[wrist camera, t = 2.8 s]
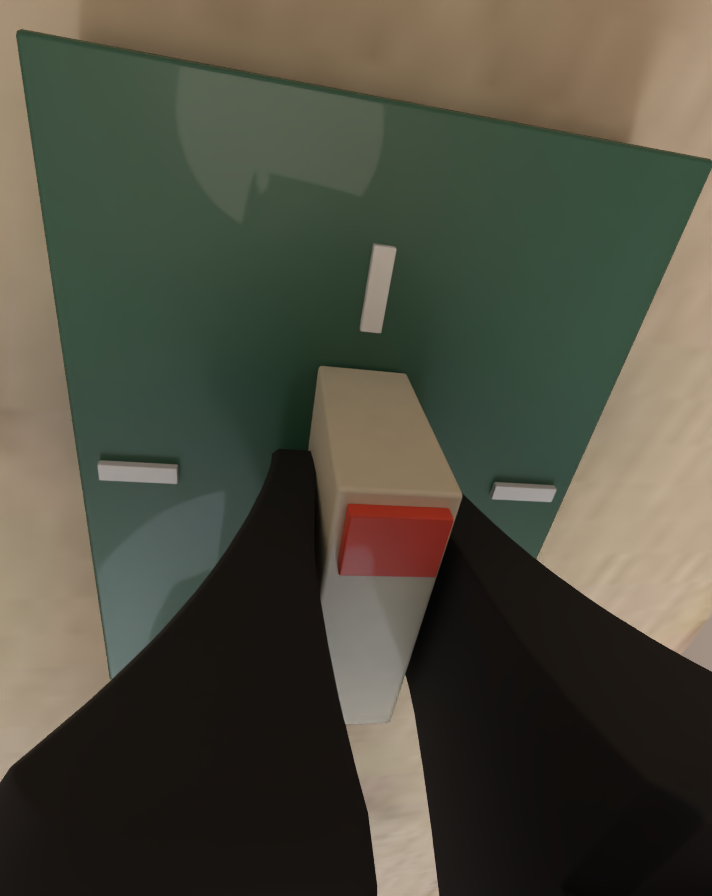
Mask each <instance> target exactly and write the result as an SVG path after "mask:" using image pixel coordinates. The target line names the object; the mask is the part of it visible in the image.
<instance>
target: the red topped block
mask: <svg viewBox="0 0 712 896" xmlns="http://www.w3.org/2000/svg"><path fill="white" fill-rule="evenodd" d="M308 451H311V454H312V457H313V461H314V466H315V470H316V494H315V526H314V551H315V564H316V571H317V578H318V585H319V592H320V599H321V605H322V611H323V617H324V623H325V629H326V634H327V640H328V646H329V651H330V656H331V661H332V666H333V671H334V676H335V681H336V685H337V690H338V695H339V700H340V704H341V709H342V713H343V717H344V721H345V725H351V724H382V723H389V722H390V719H391V716H392V713H393V710H394V707H395V704H396V701H397V698H398V695H399V692H400V688H401V685H402V682H403V679H404V676H405V673H406V670H407V667H408V664H409V661H410V658H411V654H412V651H413V648H414V645H415V642H416V639H417V636H418V633H419V630H420V627H421V623H422V620H423V617H424V614H425V611H426V608H427V605H428V602H429V599H430V596H431V592H432V589H433V586H434V583H435V580H436V577H437V574H438V571H439V568H440V565H441V562H442V558H443V555H444V552H445V549H446V546H447V543H448V540H449V537H450V534H451V531H452V527H453V524H454V521H455V518H456V515H457V512H458V509H459V506H460V503H461V500H462V492H461V490H460V488H459V486H458V484H457V482H456V479H455V477H454V475H453V473H452V471H451V469H450V467H449V464H448V462H447V460H446V458H445V456H444V454H443V452H442V450H441V447H440V445H439V443H438V441H437V439H436V437H435V435H434V433H433V430H432V428H431V426H430V424H429V422H428V420H427V418H426V415H425V413H424V411H423V409H422V407H421V405H420V403H419V401H418V398H417V396H416V394H415V392H414V390H413V388H412V386H411V383H410V381H409V379H408V377H407V375H406V374H404V373H394V372H383V371H372V370H361V369H350V368H340V367H329V366H320V367H319V369H318V375H317V383H316V391H315V399H314V407H313V415H312V423H311V431H310V439H309V447H308Z"/></svg>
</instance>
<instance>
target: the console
mask: <svg viewBox="0 0 712 896" xmlns="http://www.w3.org/2000/svg"><path fill="white" fill-rule="evenodd" d="M16 38H17V45H18V52H19V59H20V66H21V72H22V79H23V86H24V93H25V100H26V107H27V114H28V120H29V127H30V134H31V141H32V148H33V155H34V162H35V168H36V175H37V182H38V189H39V196H40V203H41V209H42V216H43V223H44V230H45V237H46V244H47V251H48V257H49V264H50V271H51V278H52V285H53V292H54V299H55V305H56V312H57V319H58V326H59V333H60V340H61V347H62V353H63V360H64V367H65V374H66V381H67V388H68V394H69V401H70V408H71V415H72V422H73V429H74V436H75V442H76V449H77V456H78V463H79V470H80V477H81V484H82V490H83V497H84V504H85V511H86V518H87V525H88V532H89V538H90V545H91V552H92V559H93V566H94V573H95V579H96V586H97V593H98V600H99V607H100V614H101V621H102V627H103V634H104V641H105V648H106V655H107V662H108V669H109V675H110V679H113V678H114V677H115V676H116V675H117V674H118V673H119V672H120V671H121V670H122V669H123V668H124V667H125V666H126V665H127V664H128V663H129V662H130V661H131V660H132V659H133V658H134V657H136V656H137V655H138V654H139V653H140V652H141V651H142V650H143V649H144V648H145V647H146V646H147V645H148V644H149V643H150V642H151V641H152V640H153V639H154V638H155V637H156V636H157V635H158V633H159V632H160V631H161V630H162V629H163V628H164V627H165V626H166V625H167V624H168V623H169V622H170V620H171V619H172V618H173V617H174V616H175V615H176V614H177V612H178V611H179V610H180V609H181V608H182V607H183V605H184V604H185V603H186V602H187V601H188V600H189V598H190V597H191V596H192V595H193V594H194V593H195V591H196V590H197V589H198V588H199V586H200V585H201V584H202V583H203V581H204V580H205V579H206V577H207V576H208V575H209V573H210V572H211V571H212V569H213V568H214V567H215V565H216V564H217V563H218V561H219V560H220V558H221V557H222V556H223V554H224V553H225V551H226V550H227V548H228V547H229V545H230V544H231V542H232V540H233V539H234V537H235V536H236V534H237V532H238V531H239V529H240V528H241V526H242V524H243V523H244V521H245V519H246V518H247V516H248V514H249V512H250V510H251V508H252V506H253V504H254V502H255V500H256V499H257V497H258V495H259V493H260V491H261V488H262V486H263V484H264V481H265V479H266V476H267V474H268V471H269V468H270V464H271V458H272V453H273V452H275V451H276V450H278V449H291V450H307V451H308V447H309V439H310V431H311V423H312V415H313V407H314V399H315V391H316V383H317V375H318V369H319V367H320V366H329V367H340V368H350V369H361V370H372V371H383V372H394V373H404V374H406V375H407V377H408V379H409V381H410V383H411V386H412V388H413V390H414V392H415V394H416V396H417V398H418V401H419V403H420V405H421V407H422V409H423V411H424V413H425V415H426V418H427V420H428V422H429V424H430V426H431V428H432V430H433V433H434V435H435V437H436V439H437V441H438V443H439V445H440V447H441V450H442V452H443V454H444V456H445V458H446V460H447V462H448V464H449V467H450V469H451V471H452V473H453V475H454V477H455V479H456V482H457V484H458V486H459V488H460V490H461V492H462V493H463V494H464V495H465V496H466V497H467V498H468V499H469V500H470V501H471V502H472V503H473V504H474V505H475V506H476V507H477V508H478V509H479V510H480V511H481V512H482V513H484V514H485V515H486V516H487V517H488V518H489V519H490V520H491V521H492V522H493V523H494V524H495V525H497V526H498V527H499V528H500V529H501V530H502V531H503V532H504V533H505V534H507V535H508V536H509V537H510V538H511V539H512V540H514V541H515V542H516V543H517V544H518V545H519V546H521V547H522V548H523V549H524V550H525V551H527V552H528V553H529V554H530V555H531V556H533V557H534V558H535V559H537V556H538V554H539V552H540V550H541V547H542V545H543V543H544V541H545V539H546V536H547V534H548V532H549V530H550V527H551V525H552V523H553V521H554V518H555V516H556V514H557V512H558V510H559V507H560V505H561V503H562V501H563V498H564V496H565V494H566V492H567V489H568V487H569V485H570V483H571V481H572V478H573V476H574V474H575V472H576V469H577V467H578V465H579V463H580V460H581V458H582V456H583V454H584V452H585V449H586V447H587V445H588V443H589V440H590V438H591V436H592V434H593V432H594V429H595V427H596V425H597V423H598V420H599V418H600V416H601V414H602V411H603V409H604V407H605V405H606V403H607V400H608V398H609V396H610V394H611V391H612V389H613V387H614V385H615V382H616V380H617V378H618V376H619V374H620V371H621V369H622V367H623V365H624V362H625V360H626V358H627V356H628V353H629V351H630V349H631V347H632V345H633V342H634V340H635V338H636V336H637V333H638V331H639V329H640V327H641V325H642V322H643V320H644V318H645V316H646V313H647V311H648V309H649V307H650V304H651V302H652V300H653V298H654V296H655V293H656V291H657V289H658V287H659V284H660V282H661V280H662V278H663V275H664V273H665V271H666V269H667V267H668V264H669V262H670V260H671V258H672V255H673V253H674V251H675V249H676V246H677V244H678V242H679V240H680V238H681V235H682V233H683V231H684V229H685V226H686V224H687V222H688V220H689V218H690V215H691V213H692V211H693V209H694V206H695V204H696V202H697V200H698V197H699V195H700V193H701V191H702V189H703V186H704V184H705V182H706V180H707V177H708V175H709V173H710V171H711V168H712V161H711V160H710V159H707V158H701V157H696V156H691V155H686V154H680V153H675V152H670V151H664V150H659V149H654V148H648V147H643V146H638V145H633V144H627V143H622V142H617V141H611V140H606V139H601V138H595V137H590V136H585V135H580V134H574V133H569V132H564V131H558V130H553V129H548V128H542V127H537V126H532V125H527V124H521V123H516V122H511V121H505V120H500V119H495V118H489V117H484V116H479V115H474V114H468V113H463V112H458V111H452V110H447V109H442V108H436V107H431V106H426V105H421V104H415V103H410V102H405V101H399V100H394V99H389V98H383V97H378V96H373V95H368V94H362V93H357V92H352V91H346V90H341V89H336V88H330V87H325V86H320V85H315V84H309V83H304V82H299V81H293V80H288V79H283V78H278V77H272V76H267V75H262V74H256V73H251V72H246V71H240V70H235V69H230V68H225V67H219V66H214V65H209V64H203V63H198V62H193V61H187V60H182V59H177V58H172V57H166V56H161V55H156V54H150V53H145V52H140V51H134V50H129V49H124V48H119V47H113V46H108V45H103V44H97V43H92V42H87V41H81V40H76V39H71V38H66V37H60V36H55V35H50V34H44V33H39V32H34V31H28V30H23V29H21V30H18V31H17V34H16ZM405 675H406V674H405Z"/></svg>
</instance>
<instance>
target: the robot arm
mask: <svg viewBox="0 0 712 896" xmlns="http://www.w3.org/2000/svg"><path fill="white" fill-rule="evenodd" d="M315 494H316V470H315V466H314V461H313V457H312V454H311V451H307V450H291V449H278V450H276V451H275V452H273V453H272V458H271V464H270V468H269V471H268V474H267V476H266V479H265V481H264V484H263V486H262V488H261V491H260V493H259V495H258V497H257V499H256V500H255V502H254V504H253V506H252V508H251V510H250V512H249V514H248V516H247V518H246V519H245V521H244V523H243V524H242V526H241V528H240V529H239V531H238V532H237V534H236V536H235V537H234V539H233V540H232V542H231V544H230V545H229V547H228V548H227V550H226V551H225V553H224V554H223V556H222V557H221V558H220V560H219V561H218V563H217V564H216V565H215V567H214V568H213V569H212V571H211V572H210V573H209V575H208V576H207V577H206V579H205V580H204V581H203V583H202V584H201V585H200V586H199V588H198V589H197V590H196V591H195V593H194V594H193V595H192V596H191V597H190V598H189V600H188V601H187V602H186V603H185V604H184V605H183V607H182V608H181V609H180V610H179V611H178V612H177V614H176V615H175V616H174V617H173V618H172V619H171V620H170V622H169V623H168V624H167V625H166V626H165V627H164V628H163V629H162V630H161V631H160V632H159V633H158V635H157V636H156V637H155V638H154V639H153V640H152V641H151V642H150V643H149V644H148V645H147V646H146V647H145V648H144V649H143V650H142V651H141V652H140V653H139V654H138V655H137V656H136V657H134V658H133V659H132V660H131V661H130V662H129V663H128V664H127V665H126V666H125V667H124V668H123V669H122V670H121V671H120V672H119V673H118V674H117V675H116V676H115V677H114V678H113V679H112V680H111V681H110V682H109V683H108V684H107V685H106V686H105V687H104V688H103V689H101V690H100V691H99V692H98V693H97V694H96V695H95V696H94V697H93V698H92V699H90V700H89V701H88V702H87V703H86V704H85V705H84V706H82V707H81V708H80V709H79V710H78V711H76V712H75V713H74V714H73V715H72V716H71V717H69V718H68V719H67V720H66V721H65V722H63V723H62V724H61V725H60V726H59V727H58V728H56V729H55V730H54V731H53V732H52V733H50V734H49V735H48V736H47V737H46V738H45V739H43V740H42V741H41V742H40V743H39V744H37V745H36V746H35V747H34V748H33V749H32V750H30V751H29V752H28V753H27V754H26V755H24V756H23V757H22V758H21V759H20V760H18V761H17V762H16V763H15V764H14V765H13V766H12V767H11V768H10V769H9V770H8V772H7V773H6V775H5V776H4V778H3V779H2V781H1V782H0V896H377V881H376V873H375V865H374V857H373V849H372V841H371V833H370V825H369V817H368V811H367V808H366V804H365V800H364V797H363V793H362V789H361V786H360V782H359V778H358V774H357V771H356V767H355V763H354V759H353V754H352V750H351V746H350V742H349V738H348V734H347V729H346V725H345V721H344V717H343V713H342V709H341V704H340V700H339V695H338V690H337V685H336V681H335V676H334V671H333V666H332V661H331V656H330V651H329V646H328V640H327V634H326V629H325V623H324V617H323V611H322V605H321V599H320V592H319V585H318V578H317V571H316V564H315V551H314V526H315ZM405 674H406V678H407V682H408V685H409V690H410V694H411V699H412V704H413V708H414V713H415V719H416V726H417V732H418V739H419V745H420V751H421V758H422V764H423V771H424V778H425V786H426V793H427V800H428V807H429V815H430V822H431V829H432V837H433V846H434V854H435V863H436V871H437V879H438V888H439V896H712V672H711V671H709V670H707V669H706V668H704V667H702V666H700V665H698V664H696V663H694V662H692V661H690V660H689V659H687V658H685V657H683V656H681V655H680V654H678V653H676V652H674V651H673V650H671V649H669V648H667V647H666V646H664V645H662V644H660V643H659V642H657V641H655V640H653V639H652V638H650V637H648V636H647V635H645V634H644V633H642V632H640V631H639V630H637V629H635V628H634V627H632V626H631V625H629V624H627V623H626V622H624V621H623V620H621V619H619V618H618V617H616V616H615V615H613V614H611V613H610V612H608V611H607V610H605V609H604V608H602V607H601V606H599V605H598V604H596V603H595V602H593V601H592V600H590V599H589V598H587V597H586V596H585V595H583V594H582V593H580V592H579V591H578V590H576V589H575V588H573V587H572V586H571V585H569V584H568V583H567V582H565V581H564V580H562V579H561V578H560V577H558V576H557V575H555V574H554V573H553V572H552V571H550V570H549V569H548V568H546V567H545V566H544V565H543V564H541V563H540V562H539V561H537V560H536V559H535V558H534V557H533V556H531V555H530V554H529V553H528V552H527V551H525V550H524V549H523V548H522V547H521V546H519V545H518V544H517V543H516V542H515V541H514V540H512V539H511V538H510V537H509V536H508V535H507V534H505V533H504V532H503V531H502V530H501V529H500V528H499V527H498V526H497V525H495V524H494V523H493V522H492V521H491V520H490V519H489V518H488V517H487V516H486V515H485V514H484V513H482V512H481V511H480V510H479V509H478V508H477V507H476V506H475V505H474V504H473V503H472V502H471V501H470V500H469V499H468V498H467V497H466V496H465V495H464V494H463V493H462V500H461V503H460V506H459V509H458V512H457V515H456V518H455V521H454V524H453V527H452V531H451V534H450V537H449V540H448V543H447V546H446V549H445V552H444V555H443V558H442V562H441V565H440V568H439V571H438V574H437V577H436V580H435V583H434V586H433V589H432V592H431V596H430V599H429V602H428V605H427V608H426V611H425V614H424V617H423V620H422V623H421V627H420V630H419V633H418V636H417V639H416V642H415V645H414V648H413V651H412V654H411V658H410V661H409V664H408V667H407V670H406V673H405Z"/></svg>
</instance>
